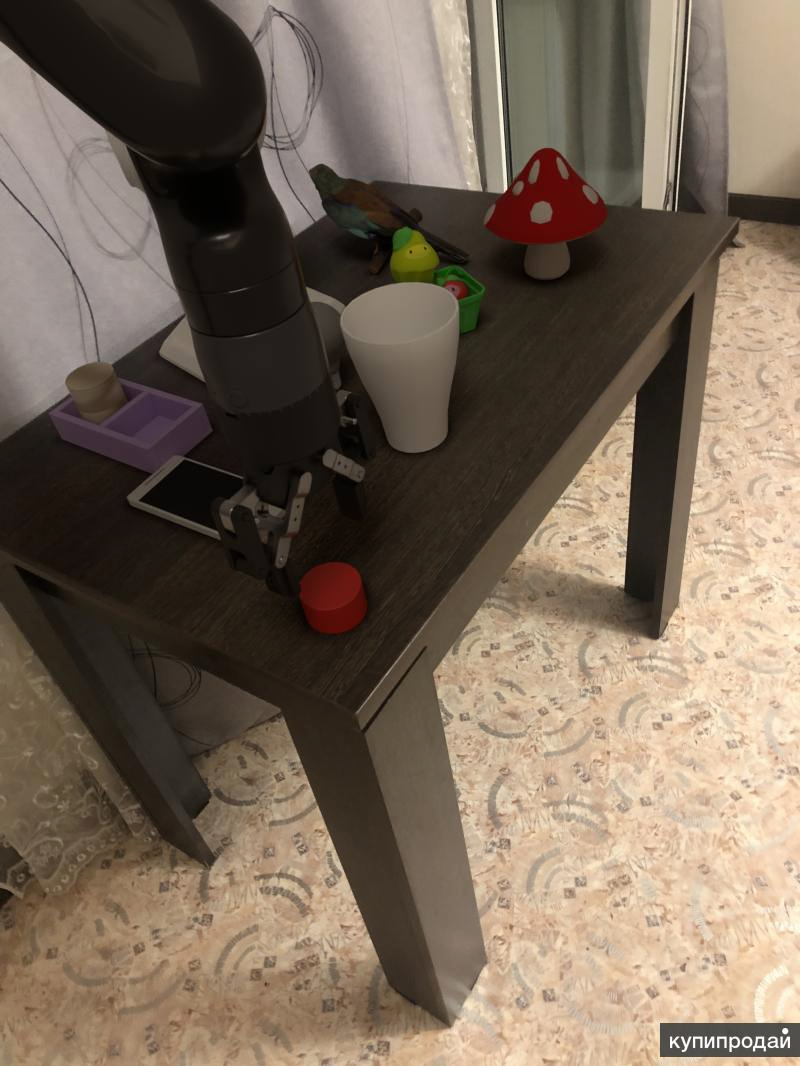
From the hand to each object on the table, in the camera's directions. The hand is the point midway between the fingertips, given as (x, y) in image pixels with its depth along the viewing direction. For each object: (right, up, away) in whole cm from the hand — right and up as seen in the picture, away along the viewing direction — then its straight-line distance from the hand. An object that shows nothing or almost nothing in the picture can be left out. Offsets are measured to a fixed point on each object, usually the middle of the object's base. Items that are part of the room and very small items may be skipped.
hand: (322, 553), depth 61 cm
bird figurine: (+5, +38, +47) cm, 61 cm away
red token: (+1, -5, +4) cm, 6 cm away
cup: (+8, +11, +19) cm, 24 cm away
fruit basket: (+9, +25, +33) cm, 42 cm away
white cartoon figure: (-12, +26, +38) cm, 47 cm away
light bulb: (-2, +17, +27) cm, 32 cm away
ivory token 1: (-26, +16, +25) cm, 39 cm away
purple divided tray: (-22, +12, +26) cm, 36 cm away
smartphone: (-12, +4, +16) cm, 20 cm away
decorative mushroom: (+24, +33, +38) cm, 56 cm away
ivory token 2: (-25, +13, +27) cm, 39 cm away
